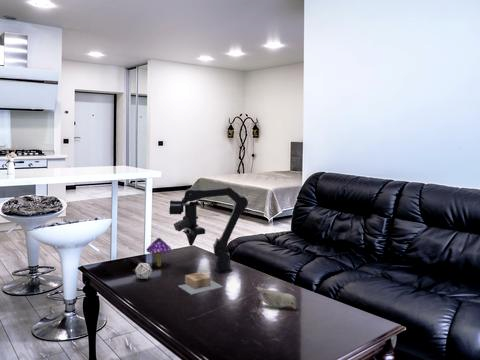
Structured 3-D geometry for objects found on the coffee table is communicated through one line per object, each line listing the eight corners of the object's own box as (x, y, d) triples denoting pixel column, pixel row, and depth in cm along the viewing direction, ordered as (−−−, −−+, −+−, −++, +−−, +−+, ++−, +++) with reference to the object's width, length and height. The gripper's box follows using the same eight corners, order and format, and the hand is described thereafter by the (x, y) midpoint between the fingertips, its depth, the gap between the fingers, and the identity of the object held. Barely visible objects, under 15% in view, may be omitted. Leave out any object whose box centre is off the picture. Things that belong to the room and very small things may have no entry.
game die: (147, 285, 194) (159, 267, 196) (141, 285, 186) (154, 266, 188) (132, 274, 196) (145, 257, 198) (126, 274, 188) (139, 255, 190)
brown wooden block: (200, 272, 191) (210, 277, 183) (200, 279, 191) (210, 285, 184) (184, 275, 186) (194, 281, 179) (185, 283, 186) (194, 289, 179)
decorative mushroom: (162, 261, 221) (162, 233, 219) (176, 266, 212) (175, 238, 210) (142, 266, 212) (141, 237, 211) (154, 271, 203) (154, 242, 202)
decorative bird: (295, 312, 157) (296, 293, 156) (254, 308, 161) (254, 289, 160) (297, 307, 162) (297, 288, 161) (257, 302, 166) (257, 284, 165)
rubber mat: (209, 279, 192) (209, 278, 192) (223, 287, 182) (223, 286, 182) (178, 286, 183) (178, 285, 183) (191, 294, 173) (191, 294, 173)
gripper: (167, 213, 205) (167, 243, 206) (184, 219, 190) (185, 252, 191) (187, 211, 211) (187, 240, 213) (205, 216, 196) (205, 248, 198)
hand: (190, 245), depth 203 cm, fingers closed
